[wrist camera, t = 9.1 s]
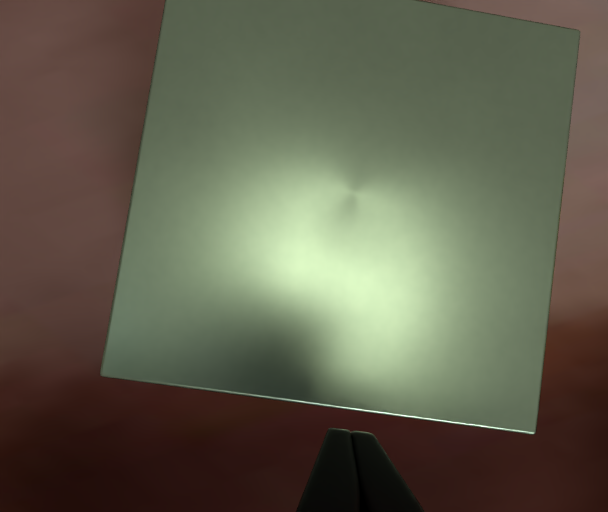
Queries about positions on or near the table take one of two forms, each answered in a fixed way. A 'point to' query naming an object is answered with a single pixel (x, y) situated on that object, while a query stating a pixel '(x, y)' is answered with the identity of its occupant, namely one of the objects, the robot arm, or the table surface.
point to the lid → (348, 208)
